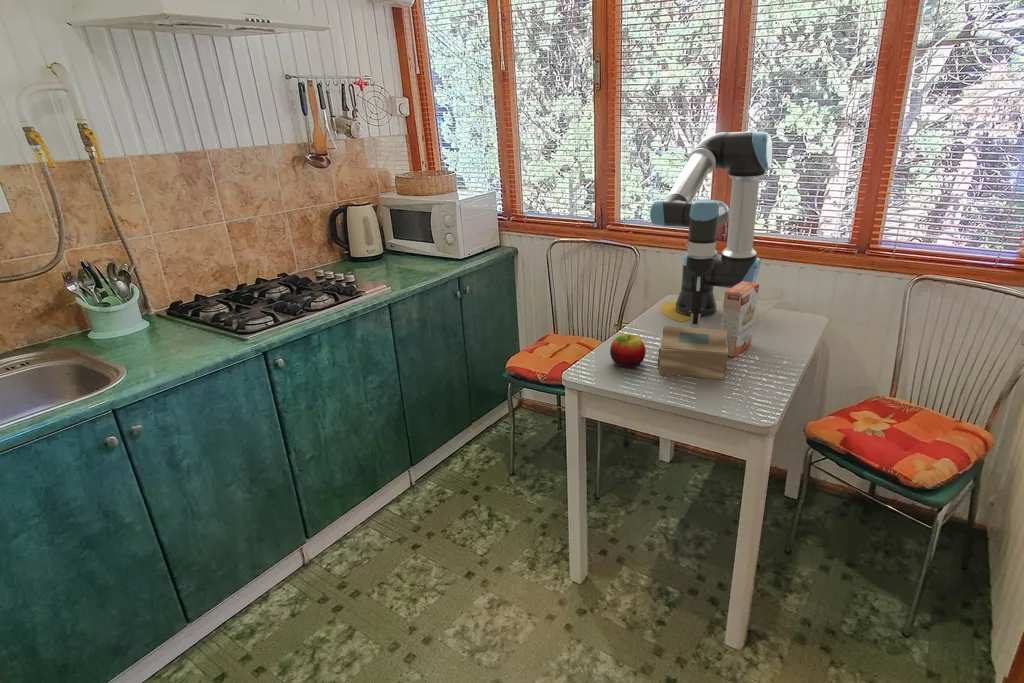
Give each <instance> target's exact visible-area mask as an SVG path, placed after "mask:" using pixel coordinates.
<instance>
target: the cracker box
mask: <svg viewBox="0 0 1024 683" xmlns="http://www.w3.org/2000/svg"><path fill="white" fill-rule="evenodd" d="M759 289H760V284H759V283H756V282H755V283H750V282H744V281H742V282H740V283H739V284H737V285H735V286H734V287H732V288H728V289H727V290H726V291H724V298H723V306H722V314H721V323H720V330H727V348H728V357H731V358H736V357H737V356H738V355H739V354H740V353H741V352H743V351H744V350H746V349H747V348H748V347H749V346H750V345H751V344H752V338H753V331H754V326H755V325H754V324H755V316H756V311H757V310H756V309H757V304H758V303H757V302H758V296H759Z"/></svg>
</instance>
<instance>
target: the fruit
mask: <svg viewBox="0 0 1024 683" xmlns="http://www.w3.org/2000/svg"><path fill="white" fill-rule="evenodd" d="M645 345H646V344H645V343H644V342H643V341H642V339H641V338H640V337H639V336H638V335H635V334H627V333H621V334H619V335H617V336H616V337H615V338H614V340H613V341H612V343H611V345H610V350H609V352H610V353H609V354H610V358H611V359H612V361H613V362H614V363H615V364H616V365H617V366H618V367H621V368H624V369H632V368H636V367H637V366H639V365H640V364H641V363H643V361H644V359H645V358H646V352H647V350H646V346H645Z"/></svg>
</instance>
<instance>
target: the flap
mask: <svg viewBox="0 0 1024 683" xmlns="http://www.w3.org/2000/svg"><path fill="white" fill-rule="evenodd" d="M662 333H663V335H662V334H661V337H662V346H661V348H667V349H680V350H692V351H705V352H718V353H726V339H727V330H721V328H720V329H719V328H718V329H716V328H705V327H704V328H702V327H699V328H690V326H689V327H687V326H675V325H674V326H673V325H663V327H662Z"/></svg>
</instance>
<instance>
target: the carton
mask: <svg viewBox="0 0 1024 683" xmlns="http://www.w3.org/2000/svg"><path fill="white" fill-rule="evenodd" d="M662 335H663V332H662V333H661V337H660V343H659V345H658V346H659V347H658V359H657V369H659V370H658V374H659V375H665V374H670V375H669V376H676V375H680V376H679V377H686V376H688V378H700V379H711V380H719V381H723V380H724V377H725V375H727V367H728V366H727V365H728V359H729V358H728V357H729V356H728V348H727V339H726V353H718V352H705V351H692V350H680V349H667V348H661V346H662Z"/></svg>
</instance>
